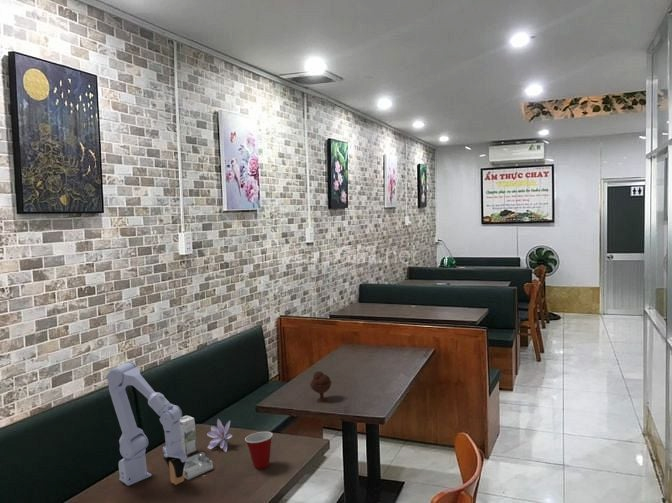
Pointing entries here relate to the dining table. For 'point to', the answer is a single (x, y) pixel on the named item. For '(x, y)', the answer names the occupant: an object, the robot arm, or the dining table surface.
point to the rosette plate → (197, 465)
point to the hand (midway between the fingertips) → (176, 475)
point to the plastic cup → (260, 448)
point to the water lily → (219, 436)
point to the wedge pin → (173, 475)
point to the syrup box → (188, 434)
